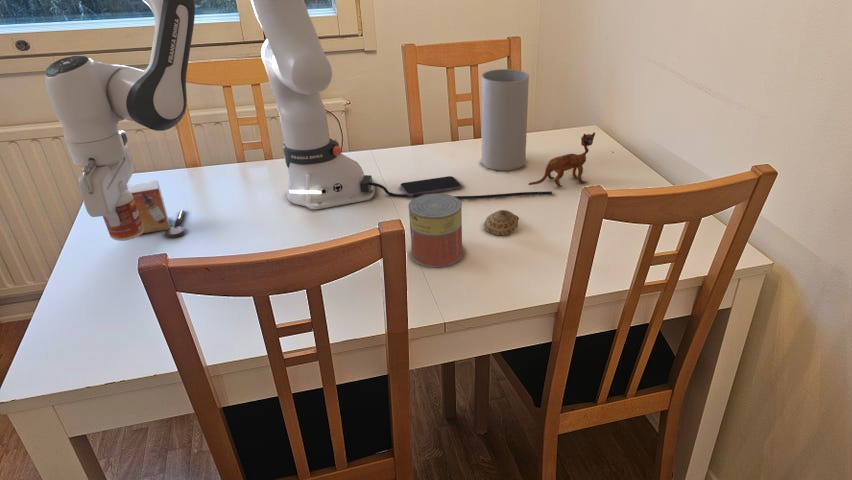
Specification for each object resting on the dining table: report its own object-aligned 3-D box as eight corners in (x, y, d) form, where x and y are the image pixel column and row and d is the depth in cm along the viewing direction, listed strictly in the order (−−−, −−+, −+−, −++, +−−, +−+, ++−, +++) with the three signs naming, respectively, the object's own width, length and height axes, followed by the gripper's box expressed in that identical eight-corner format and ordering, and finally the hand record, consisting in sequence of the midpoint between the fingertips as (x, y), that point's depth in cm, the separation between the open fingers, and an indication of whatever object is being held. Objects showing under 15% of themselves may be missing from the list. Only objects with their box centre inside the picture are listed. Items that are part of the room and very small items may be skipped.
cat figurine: (533, 193, 168) (535, 143, 161) (523, 183, 173) (525, 134, 166) (594, 183, 173) (599, 135, 166) (583, 174, 178) (587, 126, 171)
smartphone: (462, 186, 170) (408, 194, 165) (462, 189, 171) (408, 198, 166) (452, 175, 176) (399, 183, 171) (452, 179, 177) (399, 187, 171)
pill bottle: (147, 236, 128) (130, 185, 122) (113, 245, 125) (94, 193, 119) (141, 223, 132) (124, 174, 126) (108, 232, 130) (89, 181, 124)
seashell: (524, 211, 155) (516, 213, 147) (520, 234, 156) (512, 237, 148) (491, 206, 157) (482, 208, 149) (488, 229, 158) (479, 232, 150)
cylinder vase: (526, 172, 180) (530, 82, 167) (481, 171, 180) (481, 82, 167) (524, 154, 190) (527, 69, 177) (482, 154, 191) (482, 69, 177)
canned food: (414, 240, 147) (411, 193, 141) (464, 241, 147) (463, 193, 141) (408, 266, 138) (405, 216, 131) (461, 267, 137) (460, 217, 131)
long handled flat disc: (174, 213, 159) (173, 209, 158) (191, 211, 160) (190, 208, 159) (164, 238, 148) (163, 235, 148) (183, 237, 149) (182, 233, 148)
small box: (133, 236, 149) (119, 194, 144) (132, 225, 153) (119, 185, 148) (170, 229, 152) (158, 188, 146) (169, 219, 156) (157, 179, 151)
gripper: (101, 170, 111) (126, 239, 119) (127, 128, 128) (148, 191, 135) (61, 173, 110) (89, 243, 117) (93, 131, 127) (116, 195, 134)
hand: (121, 215), depth 127 cm, fingers closed on pill bottle, 6 cm apart
